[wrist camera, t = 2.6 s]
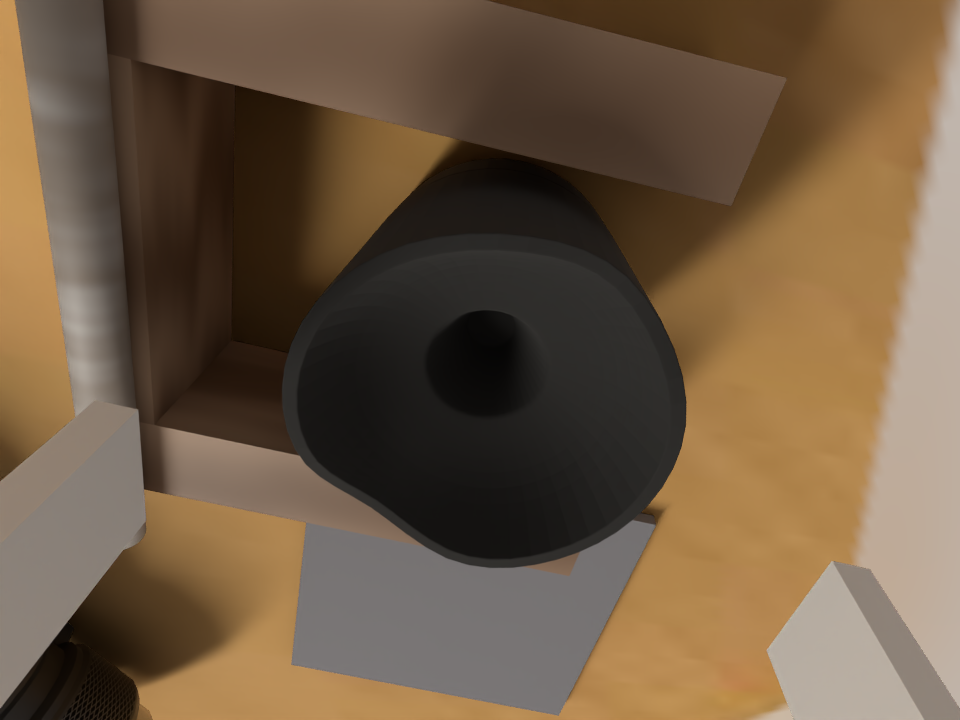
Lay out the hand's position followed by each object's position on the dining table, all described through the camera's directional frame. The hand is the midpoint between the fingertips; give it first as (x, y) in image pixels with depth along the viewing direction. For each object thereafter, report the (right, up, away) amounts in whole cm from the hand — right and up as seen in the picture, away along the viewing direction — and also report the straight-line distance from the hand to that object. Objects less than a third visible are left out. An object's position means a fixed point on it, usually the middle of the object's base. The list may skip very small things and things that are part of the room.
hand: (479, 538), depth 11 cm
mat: (-1, -9, +20) cm, 22 cm away
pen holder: (+1, +7, +11) cm, 13 cm away
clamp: (-3, +7, +11) cm, 14 cm away
